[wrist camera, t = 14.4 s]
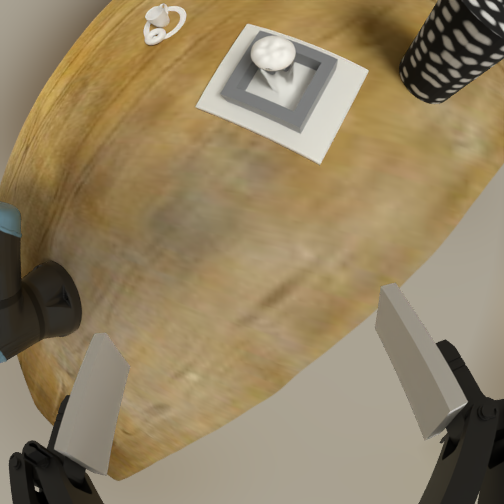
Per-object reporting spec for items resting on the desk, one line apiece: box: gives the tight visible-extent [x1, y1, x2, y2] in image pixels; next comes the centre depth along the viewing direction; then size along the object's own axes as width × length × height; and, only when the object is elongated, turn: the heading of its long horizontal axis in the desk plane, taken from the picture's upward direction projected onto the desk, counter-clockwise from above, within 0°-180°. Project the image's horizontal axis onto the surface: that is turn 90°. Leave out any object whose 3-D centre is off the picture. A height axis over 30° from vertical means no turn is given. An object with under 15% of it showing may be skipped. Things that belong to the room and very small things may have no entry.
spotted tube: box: [399, 0, 504, 104], centre depth 18 cm, size 8×8×20 cm
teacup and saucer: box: [144, 3, 186, 45], centre depth 32 cm, size 9×8×4 cm
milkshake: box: [251, 36, 296, 92], centre depth 26 cm, size 4×5×10 cm
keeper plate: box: [196, 24, 369, 165], centre depth 30 cm, size 18×15×4 cm
